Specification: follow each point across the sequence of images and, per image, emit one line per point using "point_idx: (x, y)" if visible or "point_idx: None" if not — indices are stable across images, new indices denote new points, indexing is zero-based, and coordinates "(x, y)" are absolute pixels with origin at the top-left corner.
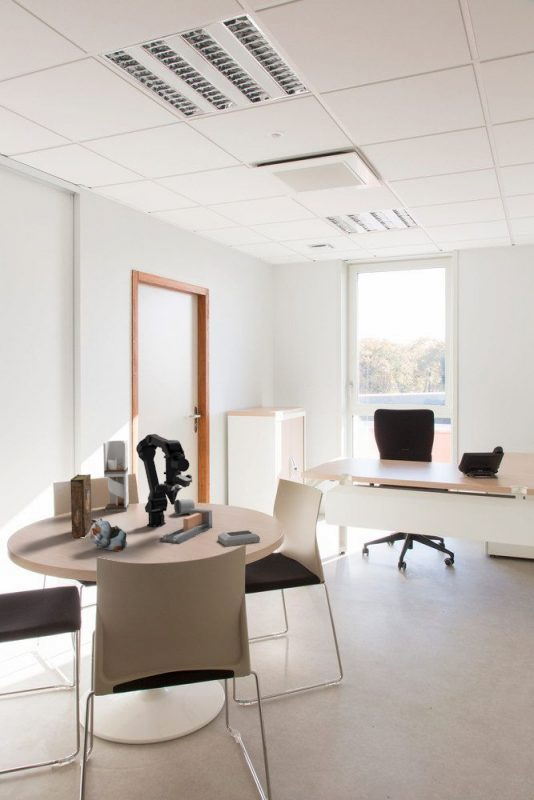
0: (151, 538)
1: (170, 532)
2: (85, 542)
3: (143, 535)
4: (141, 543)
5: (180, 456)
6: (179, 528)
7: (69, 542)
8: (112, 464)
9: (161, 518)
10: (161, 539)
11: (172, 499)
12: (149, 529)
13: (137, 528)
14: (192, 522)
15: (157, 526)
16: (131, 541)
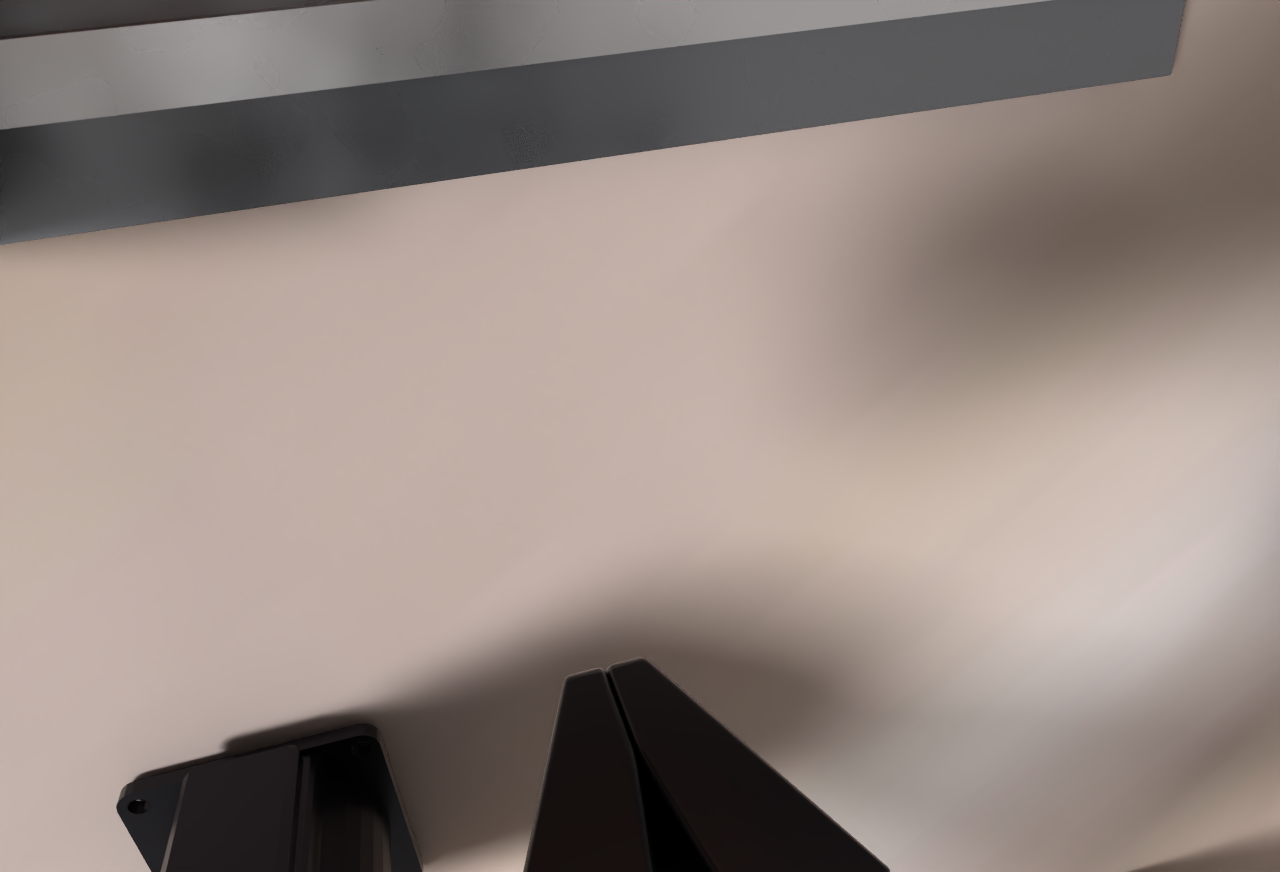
0: (1004, 313)
1: (1001, 4)
2: (1262, 751)
3: (886, 528)
4: (1271, 242)
5: None
6: (621, 52)
7: (1269, 833)
8: None
9: (282, 835)
10: (1174, 20)
11: (809, 835)
12: None
13: None
14: None
15: (379, 733)
16: (1189, 431)
